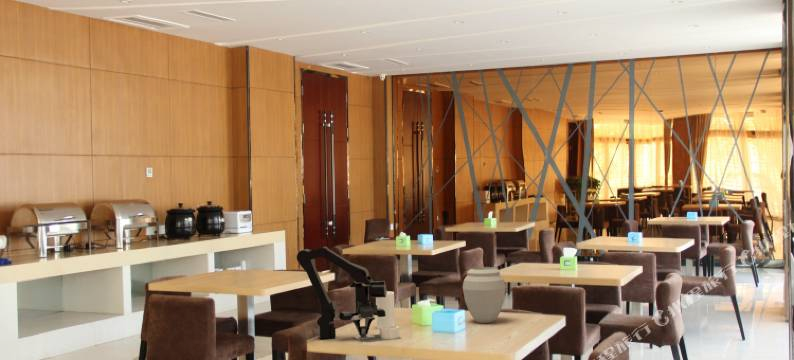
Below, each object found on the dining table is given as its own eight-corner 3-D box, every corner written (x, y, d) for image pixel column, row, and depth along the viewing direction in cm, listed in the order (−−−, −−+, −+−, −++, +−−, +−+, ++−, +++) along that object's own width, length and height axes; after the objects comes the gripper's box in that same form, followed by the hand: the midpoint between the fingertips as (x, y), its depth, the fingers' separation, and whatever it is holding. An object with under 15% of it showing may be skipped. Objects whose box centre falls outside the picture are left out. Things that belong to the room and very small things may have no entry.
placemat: (362, 343, 328) (362, 342, 328) (353, 337, 341) (353, 337, 341) (402, 339, 333) (402, 338, 333) (391, 334, 347) (391, 333, 347)
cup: (393, 330, 356) (391, 293, 356) (375, 330, 357) (373, 293, 358) (397, 326, 364) (395, 291, 364) (379, 326, 366) (377, 291, 366)
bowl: (384, 340, 331) (383, 329, 331) (378, 337, 338) (377, 326, 338) (401, 338, 334) (401, 327, 334) (395, 335, 341) (395, 325, 341)
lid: (357, 339, 334) (356, 328, 334) (352, 336, 341) (351, 325, 341) (374, 338, 337) (374, 326, 337) (369, 335, 344) (368, 324, 344)
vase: (513, 319, 371) (511, 266, 371) (495, 326, 355) (493, 271, 355) (475, 317, 382) (473, 265, 382) (456, 324, 365) (454, 270, 365)
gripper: (345, 301, 328) (347, 340, 328) (389, 298, 334) (390, 335, 334) (338, 298, 339) (339, 335, 339) (380, 295, 345) (382, 331, 345)
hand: (363, 334), depth 339 cm, fingers closed on lid, 2 cm apart
